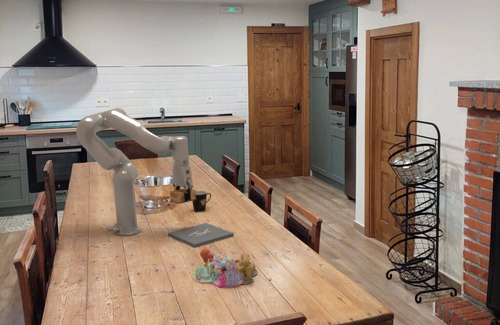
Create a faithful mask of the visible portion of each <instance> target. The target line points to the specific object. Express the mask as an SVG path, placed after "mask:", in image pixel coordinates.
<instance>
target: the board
mask: <svg viewBox="0 0 500 325" xmlns="http://www.w3.org/2000/svg"><path fill="white" fill-rule="evenodd" d="M234 235H235V234H234V232H231V231H229V230H227V229H223V228H221V227H218V226H215V225H213V224H210V223H208V222H203V223H200V224H197V225H192V226H188V227H185V228H181V229H177V230H174V231H171V232H170V231H169V232H167V237H170V238H172V239H175V240H177V241H179V242H181V243H183V244H185V245H188V246H190V247H192V248H198V247H201V246H204V245H209V244H212V243H214V242H219V241H222V240H225V239H229V238H232V237H234Z"/></svg>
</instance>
